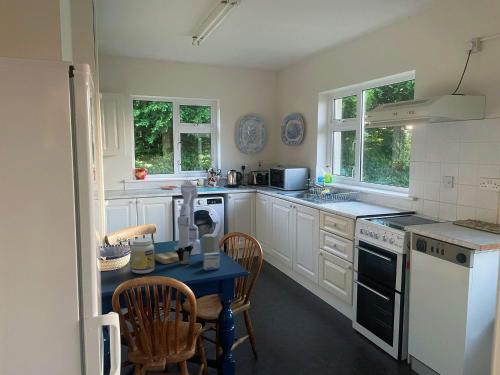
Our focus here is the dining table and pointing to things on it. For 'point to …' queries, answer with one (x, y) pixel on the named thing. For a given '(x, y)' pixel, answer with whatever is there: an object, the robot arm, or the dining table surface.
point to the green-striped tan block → (167, 257)
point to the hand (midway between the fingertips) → (184, 259)
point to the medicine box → (211, 261)
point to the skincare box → (210, 244)
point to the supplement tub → (142, 255)
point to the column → (185, 257)
